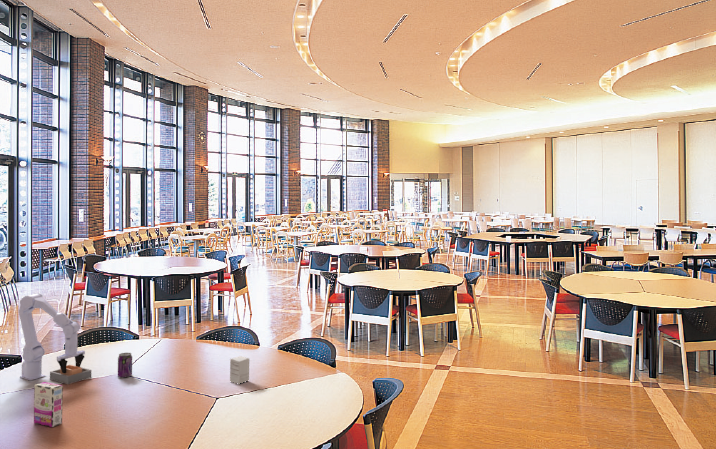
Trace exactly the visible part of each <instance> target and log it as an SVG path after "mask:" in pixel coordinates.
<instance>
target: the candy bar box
mask: <svg viewBox="0 0 716 449" xmlns="http://www.w3.org/2000/svg"><path fill="white" fill-rule="evenodd" d="M63 387H64V386H63V385H62V384H57V383H53V382H47V381H44V382H39V383H37V384H36V383H35V384H34V394H33V395H34V397H33V400H34V402H33V403H34V404H33V405H34V406H33V423H34V424H36V423H38V424H37V425H40V424H41V425H40V426H44V425H45V427H48V426H49V428H55V427H57V426H60V425H62V424H63V395H64V394H63V392H64V390H63V389H64V388H63Z"/></svg>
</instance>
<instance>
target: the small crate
mask: <svg viewBox="0 0 716 449" xmlns="http://www.w3.org/2000/svg"><path fill="white" fill-rule="evenodd" d="M59 367H60V366H59ZM81 367H82V366H80V367H77V366H76V365H73V364H68V365H66V373H62V370H61V367H60V368H59V369H60V374H63V375H67V376H70V375H74V374H77V373H81V372H82V368H83V367H82V368H81Z"/></svg>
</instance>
